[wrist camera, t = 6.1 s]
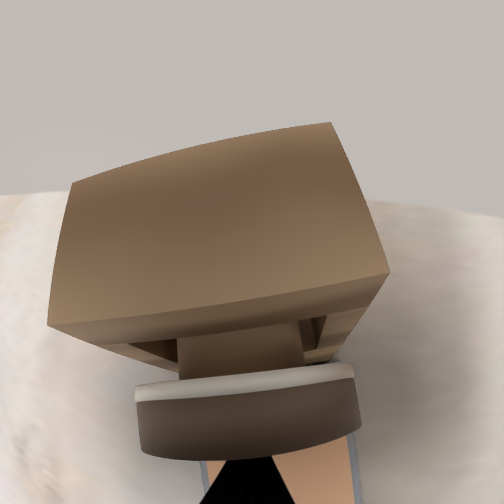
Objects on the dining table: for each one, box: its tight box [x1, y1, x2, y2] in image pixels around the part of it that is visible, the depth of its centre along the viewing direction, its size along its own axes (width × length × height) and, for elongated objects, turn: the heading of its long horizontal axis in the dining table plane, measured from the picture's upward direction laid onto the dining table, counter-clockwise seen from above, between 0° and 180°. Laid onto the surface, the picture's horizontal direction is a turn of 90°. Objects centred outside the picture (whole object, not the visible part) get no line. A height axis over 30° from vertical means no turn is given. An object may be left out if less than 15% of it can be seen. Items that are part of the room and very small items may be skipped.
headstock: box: [47, 122, 390, 373], centre depth 12 cm, size 4×7×12 cm, turn 97°
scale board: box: [200, 361, 362, 504], centre depth 12 cm, size 13×8×1 cm, turn 7°
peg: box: [134, 321, 361, 461], centre depth 10 cm, size 8×6×6 cm
